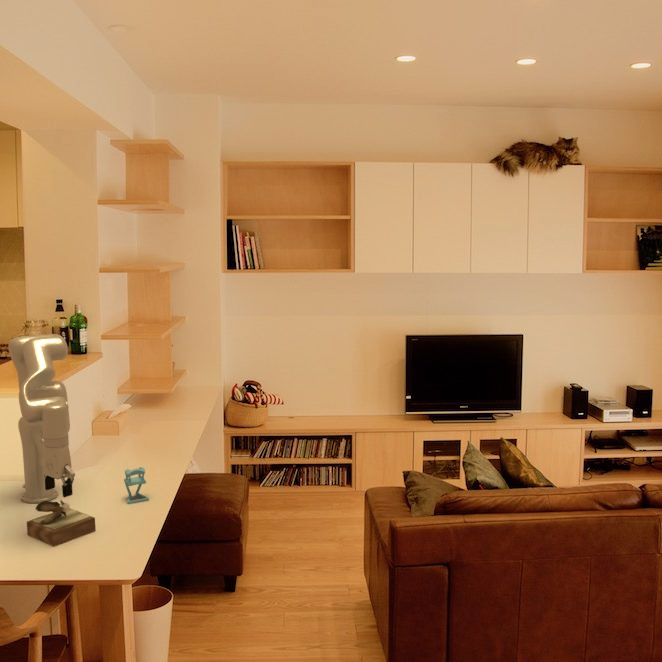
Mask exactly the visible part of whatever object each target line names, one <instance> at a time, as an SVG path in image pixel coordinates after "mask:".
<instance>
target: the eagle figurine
mask: <svg viewBox="0 0 662 662" xmlns="http://www.w3.org/2000/svg"><path fill="white" fill-rule="evenodd" d="M69 509H71V506H70V504H69V503H68V502H64V501H63V500H62V499H60V503H59V502H58V501H51V500H49V501H43V502H39V503H37V505H35V511H37V512H44V513H45V512H46V513H48V512H49V513H52V514H51V515H49V516H48V517H47V518H46V519H44V520H42V521H41V522H40V524H41V525H44V524H45V525H46V524H50V523H51V522H53V521H54V520H55V519H57V518H60V517H61V516H62V514H63V515H64V516H67V515H66V512H68V511H69Z"/></svg>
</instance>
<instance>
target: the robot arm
mask: <svg viewBox="0 0 662 662" xmlns="http://www.w3.org/2000/svg"><path fill="white" fill-rule="evenodd" d="M8 353H9V356H10V360H11V361H12V364H13V365H14V367H15V370H16V373H17V380H18V390H19V392H18V403H19V408H20V412H21V417H20V418H19V420H18V422H17V423H18V424H17V425H18V426H17V427H18V432H19V435H20V440H21V448H22V449H21V450H22V457H23V458H22V459H23V460H22V462H23V476H24V484H23V485H22V488H23V489H24V493H23V494H22V495H21V497H20V499H21V501H22V502H24V503H29V504H39V503H40V502H43V501H51V500H53V499H56V498H57V497H58V496H59V492H58V490H57V489H55V488H56V482H55V481H56V480H61V483H62V484H63V485H61V490H62V497H63V498H65V499H66V498H68V497H71V496H72V495H73V484H74V481H75V475H76V472H74V471H73V469H72V460H71V459H72V458H71V453H70V448H69V447H70V446H69V445H70V442H69V433H70V428H71V421H70V412H69V411H70V409H69V402H68V393H67V388H66V386H65V384H64V383H63V382H62V381H60V380H54V378H55V376H56V370H55V367H54V364H53V361H63V360H66V359H67V357H68V354H69V348H68V344H67V341H66V339H65V338H64V337H63V336H62V335H60V334H57V333H48V334H31V335H21V336H15V337H13V338H12V339H10V340H9V342H8ZM66 478H67V479H66Z"/></svg>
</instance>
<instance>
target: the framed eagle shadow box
mask: <svg viewBox="0 0 662 662" xmlns="http://www.w3.org/2000/svg"><path fill="white" fill-rule="evenodd" d="M52 513H53V512H49V513H48V514H45V515H42V516H39V517H35V518H33V519H31V520H30V519H29V520H28V521H27V520H26V533H27V536H29V537H31V538H34V539H36V540H38V541H41V542H43V543H45V544H47V545H49V546H52V547H57V546H60V545H62V544H64V543H67V542H70V541H72V540H75V539H78V538H80V537H83V536H86V535H88V534H91V533H94V532H96V517H94V516H92V515H88V514H86V513H84V512H81V511H78V510H75V509H73V508H70V509H69V511H68V512H66V515H67V516H64V515H63V514H62V516H61V517H60V518H57V519H55V520H54V521H53V522H51V523H50V524H46V525H45V524H44V525H41V524H40V522H41V521H42V520H44V519H46V518H47V517H48V516H49V515H51V514H52Z"/></svg>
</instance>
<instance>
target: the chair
mask: <svg viewBox="0 0 662 662" xmlns="http://www.w3.org/2000/svg"><path fill="white" fill-rule="evenodd" d="M145 473H146V470H145V467H143V466H141V467H139V468H134V469H131V470H130V469H128V468H127V469H125V470H124V474H125V479H123V481H124V485H125V488H126V490H127V494H128V497H127V500H126V501H127V502H126V504H127V505H133V504H138V503H144V502H146V501H147V502H148V501H150V497H149V496H146V495H143V494H141V493H139V492H140V490H141V487H142V485H145V484H146V483H147V480H146V479H145V477H144V476H145ZM135 475H138V476H136V477H132V476H135ZM136 485H137V488H136V491H135V497H139V499H138V498H137V499H133V500H132V492H131V489H130V487H133V486H136Z"/></svg>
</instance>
